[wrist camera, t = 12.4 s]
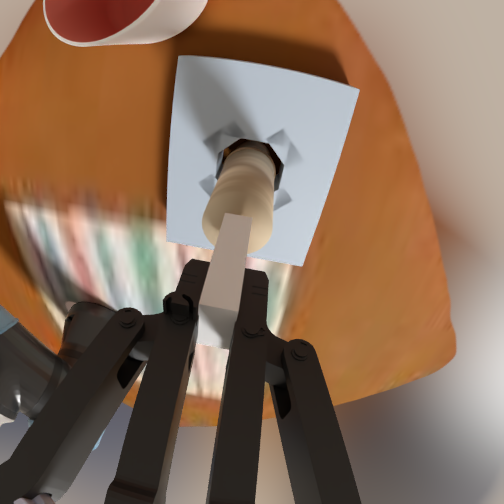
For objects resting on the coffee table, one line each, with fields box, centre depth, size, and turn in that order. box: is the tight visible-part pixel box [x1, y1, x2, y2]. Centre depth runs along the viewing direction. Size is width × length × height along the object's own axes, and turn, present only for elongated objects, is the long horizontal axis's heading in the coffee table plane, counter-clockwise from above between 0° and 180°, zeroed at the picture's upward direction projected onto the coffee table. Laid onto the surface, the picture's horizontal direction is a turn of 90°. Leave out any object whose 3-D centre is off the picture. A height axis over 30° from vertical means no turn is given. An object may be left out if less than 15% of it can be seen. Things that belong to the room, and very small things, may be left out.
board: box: [167, 55, 360, 266], centre depth 25 cm, size 14×18×4 cm
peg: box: [202, 140, 276, 254], centre depth 22 cm, size 4×4×12 cm
